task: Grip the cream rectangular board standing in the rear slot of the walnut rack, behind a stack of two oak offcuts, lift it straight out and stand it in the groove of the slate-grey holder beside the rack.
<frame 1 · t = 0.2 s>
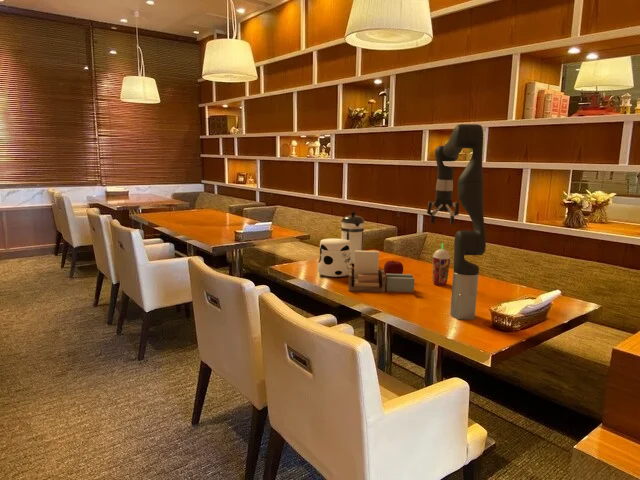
hand: (441, 223, 213), 29 cm above the table, tool pointing down, fingers open, 8 cm apart
smoothie: (439, 284, 218), on the table
cream rectangular board: (365, 284, 211), point 1 cm above the table, touching rack
coffee press: (349, 263, 257), on the table
offcut small: (367, 281, 204), point 4 cm above the table, touching offcut large
offcut large: (366, 288, 204), point 1 cm above the table, touching offcut small, rack
milk container: (334, 276, 230), on the table
holder: (399, 291, 205), on the table
apple: (392, 280, 223), on the table
rack: (365, 289, 207), on the table
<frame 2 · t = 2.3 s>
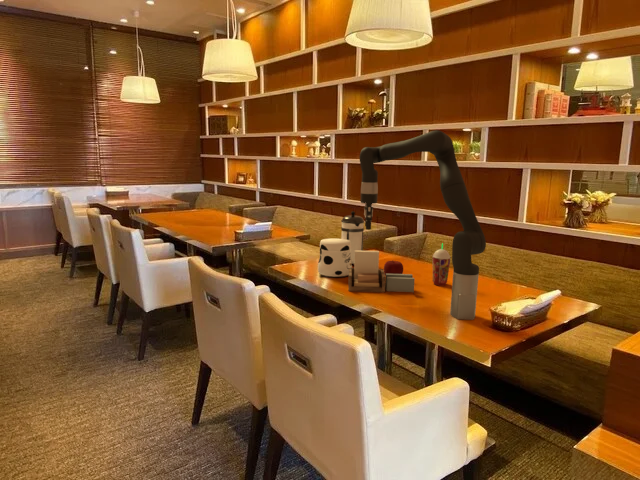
hand: (367, 228, 206), 28 cm above the table, tool pointing down, fingers open, 8 cm apart
nothing on the table moved.
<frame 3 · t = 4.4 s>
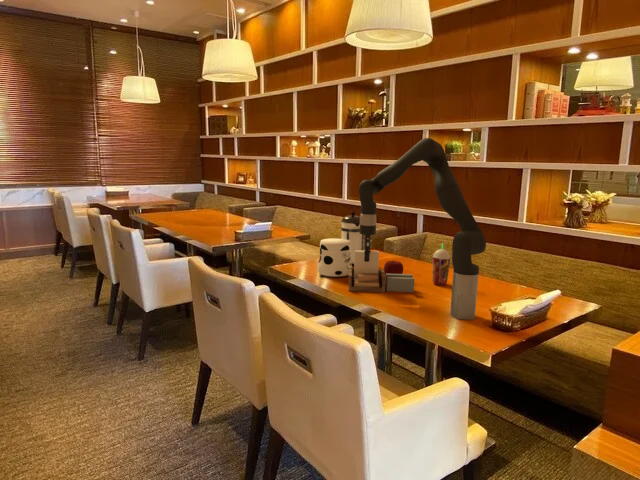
hand: (366, 260, 209), 13 cm above the table, tool pointing down, fingers closed on cream rectangular board, 2 cm apart
cream rectangular board: (365, 284, 211), point 1 cm above the table, touching gripper, rack
everything else where it was.
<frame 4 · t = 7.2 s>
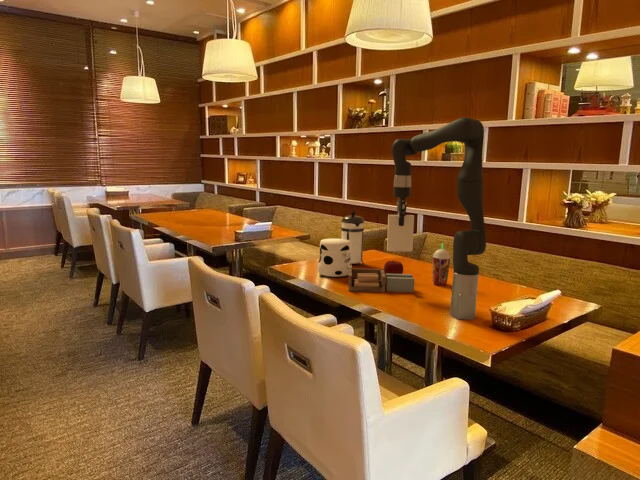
hand: (400, 225, 200), 30 cm above the table, tool pointing down, fingers closed on cream rectangular board, 2 cm apart
cream rectangular board: (399, 250, 201), point 19 cm above the table, touching gripper
everything else where it was.
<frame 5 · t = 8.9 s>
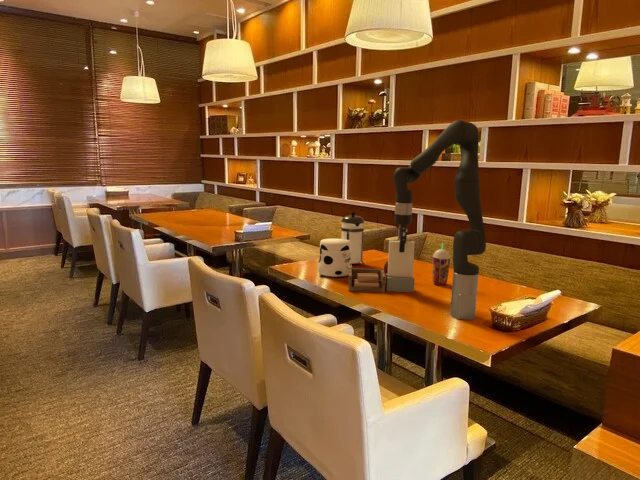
hand: (401, 251, 202), 19 cm above the table, tool pointing down, fingers closed on cream rectangular board, 2 cm apart
cream rectangular board: (400, 276, 204), point 7 cm above the table, touching gripper
everything else where it was.
when the fingers open (14 cm above the table, at t = 10.1 s): cream rectangular board stays where it is, resting on holder.
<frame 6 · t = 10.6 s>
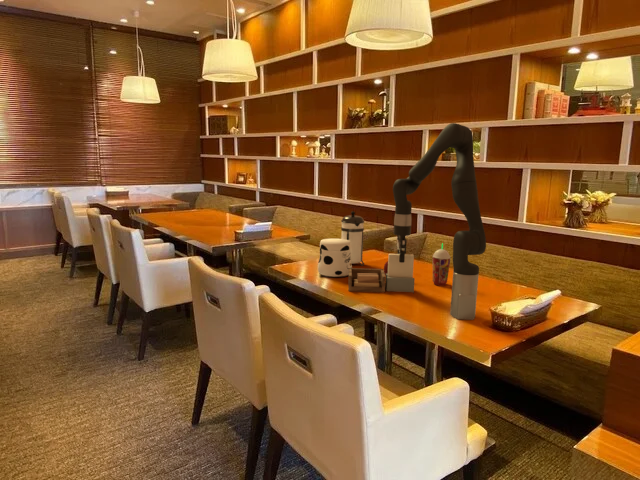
hand: (400, 260, 203), 14 cm above the table, tool pointing down, fingers open, 7 cm apart
cream rectangular board: (399, 288, 205), point 1 cm above the table, touching holder
everything else where it was.
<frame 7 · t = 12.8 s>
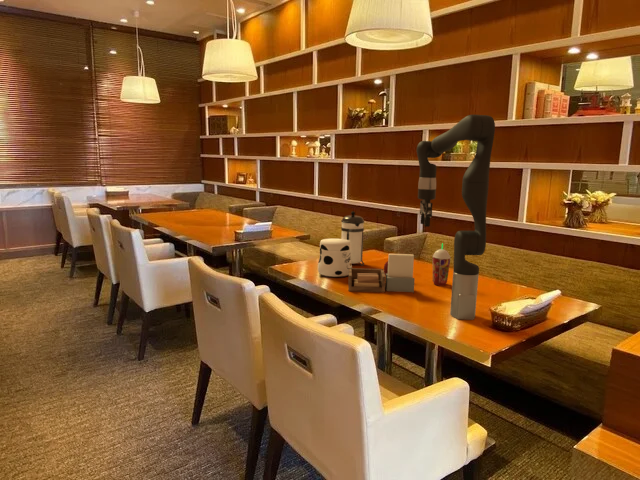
hand: (424, 225, 198), 31 cm above the table, tool pointing down, fingers open, 8 cm apart
nothing on the table moved.
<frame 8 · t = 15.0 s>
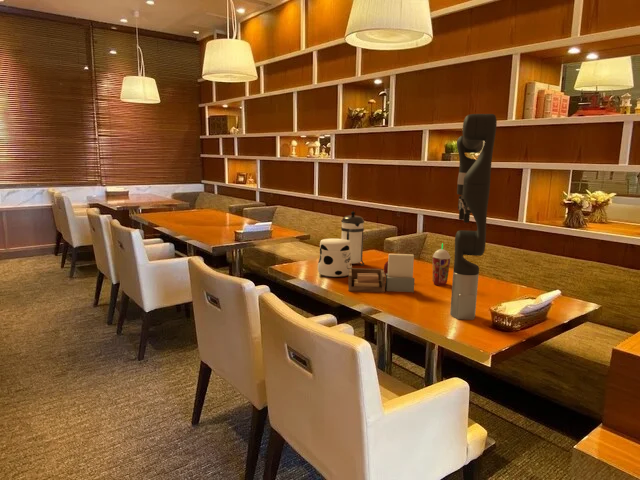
hand: (463, 221, 196), 33 cm above the table, tool pointing down, fingers open, 8 cm apart
nothing on the table moved.
at the end: cream rectangular board 0.1 cm off-centre on the holder, point 1.0 cm above the holder's base; cream rectangular board tilted 0°; cream rectangular board touching holder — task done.
